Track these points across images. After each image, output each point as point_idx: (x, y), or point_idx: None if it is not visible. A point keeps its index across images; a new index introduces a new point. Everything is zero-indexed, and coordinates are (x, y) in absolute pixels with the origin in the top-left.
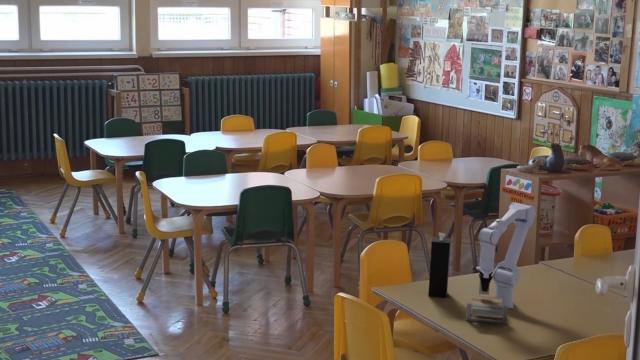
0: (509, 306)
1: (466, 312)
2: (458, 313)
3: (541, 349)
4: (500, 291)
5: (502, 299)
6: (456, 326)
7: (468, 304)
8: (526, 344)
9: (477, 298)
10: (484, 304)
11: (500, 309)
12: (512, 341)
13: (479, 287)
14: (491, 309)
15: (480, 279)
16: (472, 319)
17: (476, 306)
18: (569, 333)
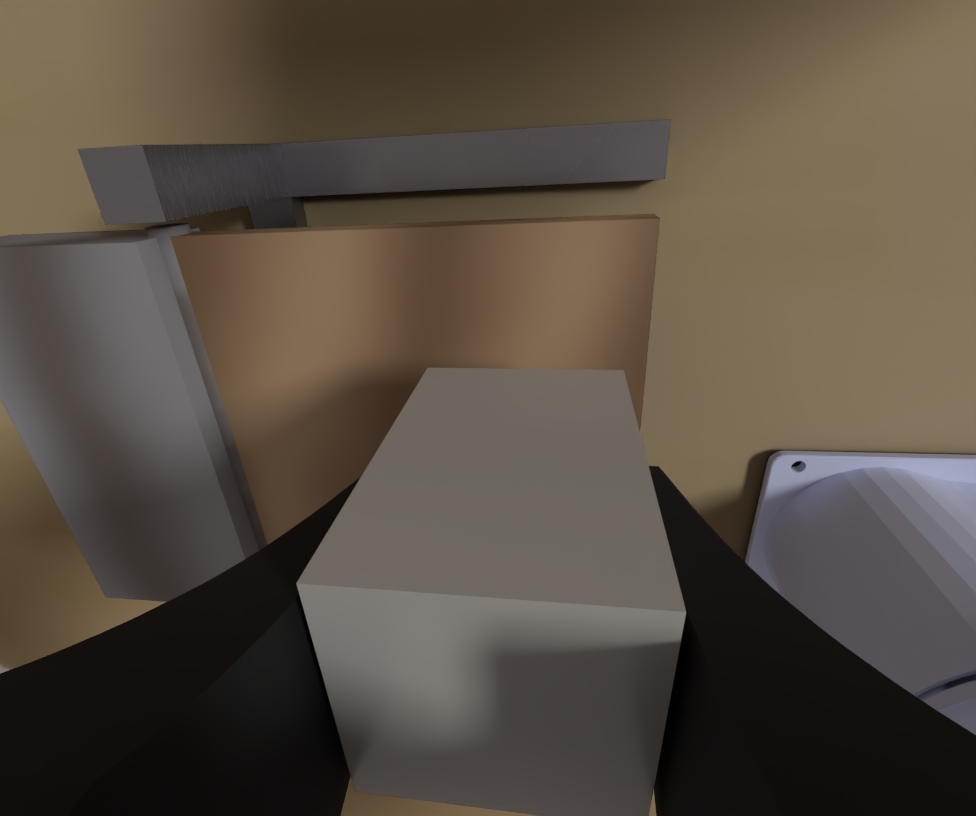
0: (767, 579)
1: (444, 135)
2: (448, 13)
3: (32, 649)
4: (869, 632)
5: (800, 575)
6: (4, 36)
7: (94, 173)
8: (44, 593)
9: (508, 315)
10: (189, 422)
11: (135, 578)
12: (29, 527)
13: (386, 439)
14: (66, 494)
15: (65, 654)
16: (255, 226)
17: (37, 312)
18: (349, 787)
